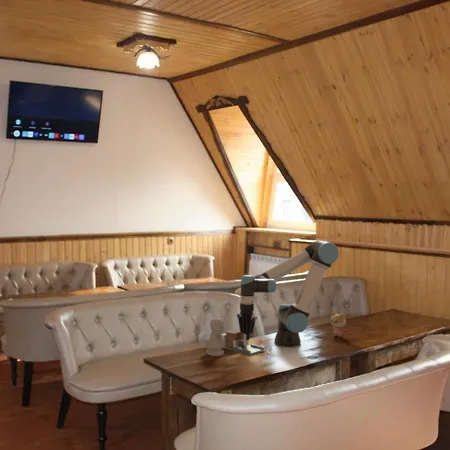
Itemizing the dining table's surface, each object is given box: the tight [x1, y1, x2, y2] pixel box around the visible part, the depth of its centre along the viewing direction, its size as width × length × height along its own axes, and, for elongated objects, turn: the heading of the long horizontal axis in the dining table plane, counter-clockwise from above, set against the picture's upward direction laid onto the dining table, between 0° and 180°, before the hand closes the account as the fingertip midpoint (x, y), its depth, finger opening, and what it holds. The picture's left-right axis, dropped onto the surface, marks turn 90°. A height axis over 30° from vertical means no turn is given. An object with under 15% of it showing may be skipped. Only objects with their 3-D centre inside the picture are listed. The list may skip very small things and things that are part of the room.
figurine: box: [204, 317, 225, 357], centre depth 317 cm, size 9×13×20 cm
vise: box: [221, 332, 265, 356], centre depth 328 cm, size 12×22×7 cm, turn 47°
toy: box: [330, 311, 347, 338], centre depth 364 cm, size 10×8×15 cm
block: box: [225, 328, 243, 348], centre depth 331 cm, size 9×6×8 cm, turn 137°
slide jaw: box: [233, 338, 245, 348], centre depth 328 cm, size 10×4×4 cm, turn 137°
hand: (245, 345), depth 326 cm, fingers closed
